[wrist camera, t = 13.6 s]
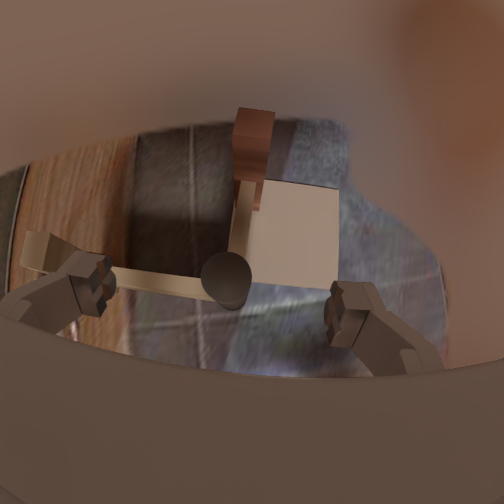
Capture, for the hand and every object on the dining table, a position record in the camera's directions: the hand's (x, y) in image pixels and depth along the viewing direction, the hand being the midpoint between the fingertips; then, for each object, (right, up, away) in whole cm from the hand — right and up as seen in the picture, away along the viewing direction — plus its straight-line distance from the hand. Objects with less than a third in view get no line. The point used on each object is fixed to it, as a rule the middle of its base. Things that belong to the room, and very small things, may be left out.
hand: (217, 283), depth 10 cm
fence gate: (0, +3, +18) cm, 18 cm away
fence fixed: (-7, -2, +17) cm, 18 cm away
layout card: (+5, +3, +18) cm, 19 cm away
